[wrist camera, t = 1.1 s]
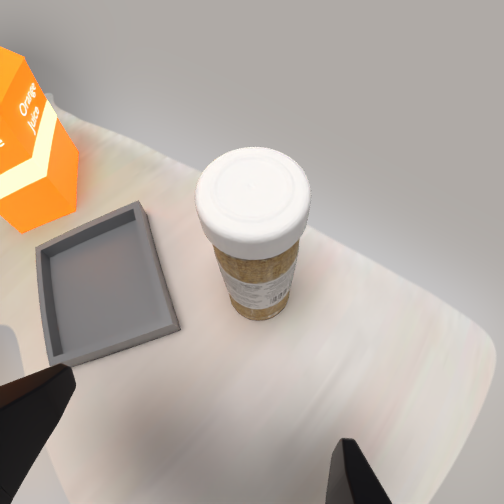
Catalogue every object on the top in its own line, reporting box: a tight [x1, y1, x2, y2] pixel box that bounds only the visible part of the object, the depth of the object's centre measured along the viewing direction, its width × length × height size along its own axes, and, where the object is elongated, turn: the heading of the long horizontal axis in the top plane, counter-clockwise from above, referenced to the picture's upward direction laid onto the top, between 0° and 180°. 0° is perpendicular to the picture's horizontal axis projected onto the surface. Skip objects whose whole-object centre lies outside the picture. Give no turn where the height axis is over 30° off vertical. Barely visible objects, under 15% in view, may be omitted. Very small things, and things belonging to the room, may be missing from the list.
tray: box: [35, 201, 181, 367], centre depth 24 cm, size 11×11×2 cm
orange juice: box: [0, 47, 79, 233], centre depth 21 cm, size 8×9×20 cm
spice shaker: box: [195, 147, 311, 320], centre depth 18 cm, size 5×5×14 cm
